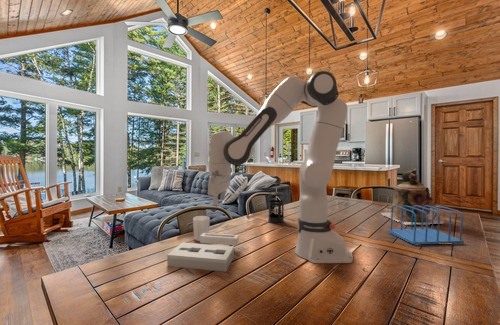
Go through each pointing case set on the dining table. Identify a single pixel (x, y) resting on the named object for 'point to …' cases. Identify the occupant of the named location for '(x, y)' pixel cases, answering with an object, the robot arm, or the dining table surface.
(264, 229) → the dining table surface
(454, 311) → the dining table surface
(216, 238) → the cream rectangular block
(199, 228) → the white cup
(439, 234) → the file sorter
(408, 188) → the cookie jar
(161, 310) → the dining table surface
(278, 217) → the french press
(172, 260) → the mounting board
